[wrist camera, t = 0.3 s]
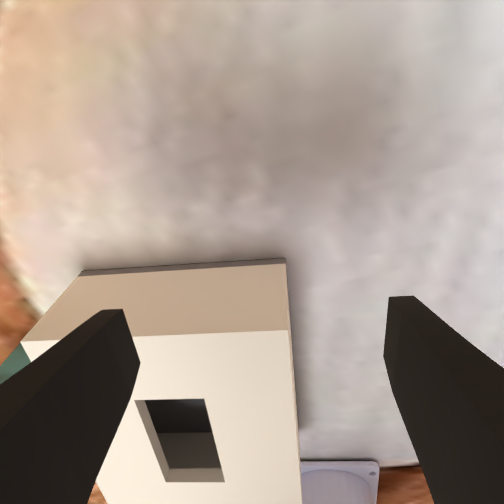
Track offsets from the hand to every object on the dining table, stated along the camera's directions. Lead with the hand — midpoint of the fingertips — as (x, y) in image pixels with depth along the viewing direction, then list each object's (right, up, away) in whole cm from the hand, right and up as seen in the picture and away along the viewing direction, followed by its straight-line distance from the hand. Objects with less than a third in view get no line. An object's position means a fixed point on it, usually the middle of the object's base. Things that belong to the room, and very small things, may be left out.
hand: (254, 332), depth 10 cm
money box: (-3, -5, +15) cm, 16 cm away
